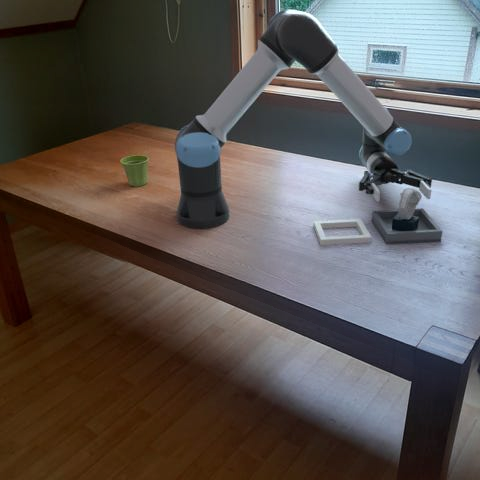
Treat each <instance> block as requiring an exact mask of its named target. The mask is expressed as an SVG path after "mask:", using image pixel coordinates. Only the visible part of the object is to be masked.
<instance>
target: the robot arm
mask: <svg viewBox="0 0 480 480" xmlns="http://www.w3.org/2000/svg"><path fill="white" fill-rule="evenodd" d="M339 48H340V47H339V46H338V45H337V43H336V42H335V41H334V40H333V39H332V37H331V36H330V35H329V34H328V32H327V31H326V30H325V28H324V27H323V26H322V24H321V23H320V22H319V20H318V19H317V18H316V17H314V16H313V15H312V14H310V13H308V12H305V11H301V10H298V9H294V8H287V9H283V10H281V11H279V12H277V13H276V14H274V15H273V16H272V17H271V19H270V20H269V23H268V25H267V27H266V29H265V31H264V32H263V33H262V35H261V36H260V37H259V39H258V40H257V50H256V51H255V52H254V54H253V55H252V56H251V58H249V59H248V60H247V62H246V63H245V65H244V66H243V67H242V68H241V69H240V70H239V71H238V73H237V74H236V76H234V77H233V79H232V81H231V82H230V83H229V84H228V85H227V86H226V88H225V89H224V90H223V91H221V94H220V95H219V96H218V97H217V98H216V100H215V101H214V102H213V103H212V105H211V106H210V107H209V108H208V109H207V111H205V113H204V114H199V115H196V116H195V117H194V118H192V121H191V122H190V123H188V124H187V125H185V126H183V127H182V128H181V129H180V130H179V131H178V133H177V135H176V136H175V141H174V151H175V155H176V161H177V166H178V175H179V187H180V197H179V201H178V205H177V208H176V209H177V210H176V219H177V222H178V223H179V224H180V225H182V226H184V227H187V228H192V229H208V228H213V227H217V226H220V225H222V224H224V223H225V222H227V221H229V219H230V208H229V205H228V202H227V200H226V197H225V194H224V193H223V186H222V185H223V184H222V168H221V149H222V147H224V146H225V144H226V143H227V134H229V132H230V131H231V130H232V128H233V127H234V126H235V125H236V124H237V122H238V121H239V120H240V119H241V118H242V116H243V115H244V114H245V113H246V111H247V110H249V108H250V106H251V105H253V104H254V103H255V101H257V98H258V97H259V96H260V95H261V94H262V93H263V92H264V91H265V89H266V88H267V86H269V84H270V83H271V82H272V81H273V80H274V79H275V77H276V76H277V75H278V74H279V73H280V72H281V71H284V70H285V71H286V70H289V69H290V68H291V67H292V66H293V64H294V63H295V62H297V63H298V64H300V65H301V66H302V67H303V68H304V69H305V70H306V71H307V72H308V73H309V74H310V75H316V76H317V77H318V78H319V79H320V80H321V81H322V82H323V83H324V84H325V86H326V87H327V88H328V89H329V90H330V91H331V92H332V93H333V95H334V96H335V97H336V98H338V100H339V101H340V102H341V104H343V105H344V107H346V109H348V112H350V113H351V114H352V115H353V116H354V117H355V119H356V120H358V122H359V123H360V124H361V125H362V145H361V147H360V149H359V152H358V157H359V159H360V162H361V163H362V165H363V166H364V168H365V169H366V170H365V171H364V172H363V176H362V178H361V179H360V180H359V182H358V184H359V185H358V191H359V192H363V191H365V194H366V195H372V197H373V198H374V200H375V201H376V202H380V198H381V191H380V189H379V188H378V186H382V185H386V184H390V183H392V184H396V185H397V184H398V185H407V186H410V187H413V188H416V189H417V188H418V191H419V192H420V193H421V195H422V196H424V197H425V198H426V200H431V195H432V183H433V178H430V177H428V176H426V175H423V174H420V173H418V172H415V171H413V170H412V169H411V168H407V169H406V171H402V170H400V169H399V167H398V165H397V164H396V163H395V161H394V160H393V159H392V158H391V157H390V156H389V154H390V155H392V156H401V155H403V154H405V153H406V152H408V150H410V148H411V146H412V142H413V141H412V135H411V133H410V132H408V130H407V129H405V128H403V127H402V126H401V125H400V124H399V123H398V122H397V120H395V118H394V117H393V116H392V115H391V113H390V111H389V109H388V108H387V107H385V106H384V105H383V104H382V103H381V102H380V100H379V99H378V98H377V97H376V96H375V94H373V92H372V91H371V90H370V88H368V86H367V85H366V84H365V83H364V82H363V81H362V79H361V78H360V77H359V76H358V75H357V74H356V73H355V71H354V70H353V68H351V66H350V65H349V64H348V63H347V62H346V61H345V59H344V58H343V57H342V56H341V55H340V54H339Z"/></svg>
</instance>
